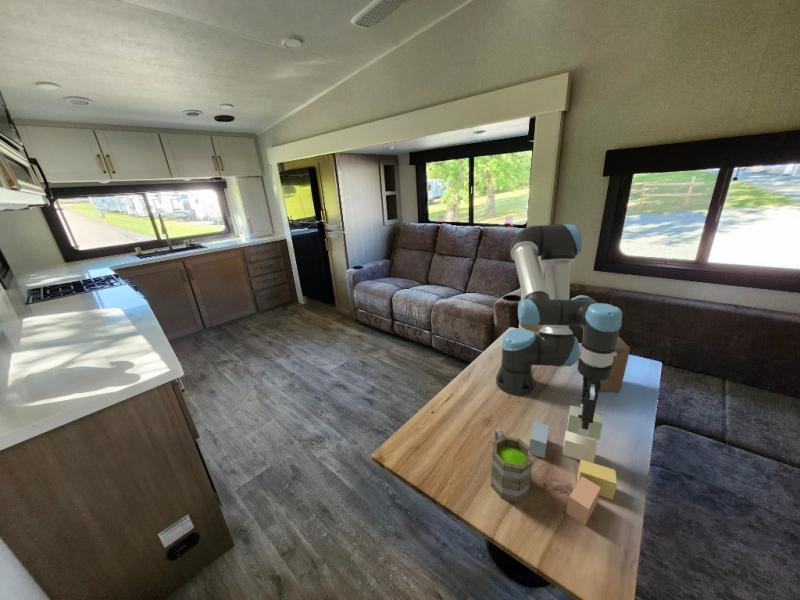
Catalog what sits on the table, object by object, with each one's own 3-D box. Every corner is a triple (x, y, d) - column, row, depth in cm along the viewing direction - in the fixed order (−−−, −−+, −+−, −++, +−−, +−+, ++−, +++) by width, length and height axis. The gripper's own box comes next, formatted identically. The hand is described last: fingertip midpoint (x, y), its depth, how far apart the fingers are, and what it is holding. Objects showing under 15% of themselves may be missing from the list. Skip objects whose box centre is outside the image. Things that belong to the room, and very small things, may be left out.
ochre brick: (577, 487, 83) (580, 471, 81) (577, 474, 87) (580, 459, 85) (612, 500, 80) (616, 483, 78) (611, 486, 83) (615, 470, 81)
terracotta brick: (585, 525, 74) (588, 509, 72) (566, 512, 77) (569, 496, 75) (596, 503, 79) (600, 487, 77) (578, 492, 82) (581, 476, 80)
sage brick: (567, 431, 90) (569, 414, 88) (567, 421, 93) (570, 405, 91) (599, 439, 86) (602, 423, 84) (598, 429, 90) (601, 413, 87)
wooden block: (621, 393, 117) (631, 348, 110) (592, 391, 119) (600, 346, 112) (609, 378, 126) (619, 335, 119) (583, 376, 128) (590, 334, 121)
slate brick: (544, 458, 93) (546, 443, 90) (528, 453, 95) (530, 438, 92) (546, 439, 99) (548, 425, 97) (532, 435, 101) (533, 421, 99)
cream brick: (562, 454, 93) (565, 440, 91) (563, 444, 97) (565, 429, 95) (593, 464, 90) (596, 449, 87) (592, 453, 93) (596, 438, 91)
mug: (537, 499, 81) (542, 466, 77) (498, 504, 80) (500, 471, 76) (512, 451, 96) (515, 421, 91) (478, 455, 95) (479, 425, 91)
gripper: (615, 382, 73) (599, 456, 81) (609, 348, 87) (596, 414, 95) (579, 375, 76) (567, 446, 84) (579, 343, 90) (569, 407, 98)
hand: (582, 429), depth 89 cm, fingers closed on sage brick, 4 cm apart
